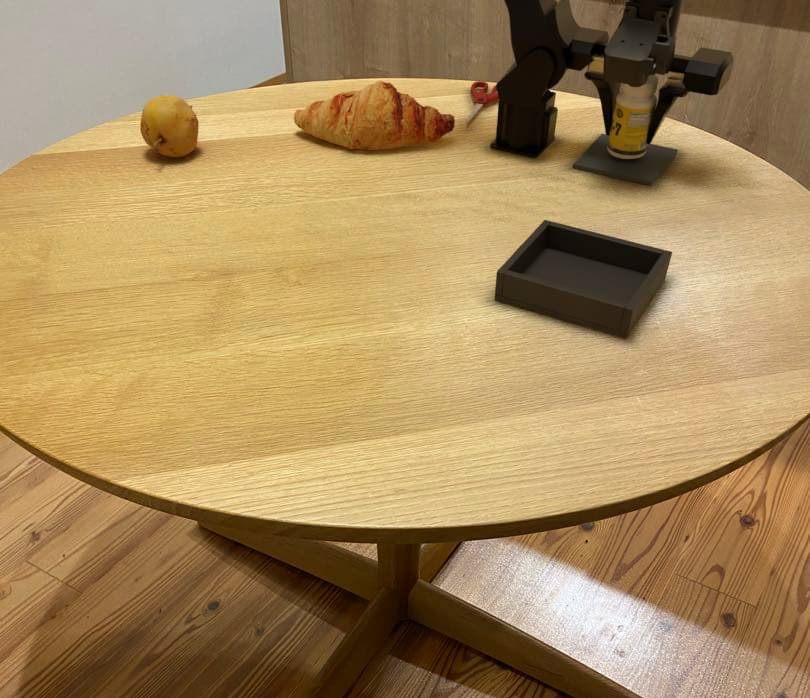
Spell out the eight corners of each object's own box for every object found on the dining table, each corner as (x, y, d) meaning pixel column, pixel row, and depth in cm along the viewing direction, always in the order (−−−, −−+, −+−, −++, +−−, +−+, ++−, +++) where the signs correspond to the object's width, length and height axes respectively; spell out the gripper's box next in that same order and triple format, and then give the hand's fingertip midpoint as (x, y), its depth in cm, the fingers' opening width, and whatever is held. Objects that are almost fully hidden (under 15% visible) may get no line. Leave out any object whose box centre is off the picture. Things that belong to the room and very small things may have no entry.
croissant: (293, 168, 105) (277, 124, 97) (305, 104, 107) (290, 55, 100) (451, 175, 102) (448, 129, 95) (460, 108, 105) (458, 59, 97)
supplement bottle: (603, 143, 99) (616, 69, 92) (641, 143, 99) (656, 68, 92) (610, 160, 96) (624, 85, 89) (649, 160, 96) (666, 84, 89)
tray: (494, 299, 78) (496, 271, 76) (541, 247, 85) (544, 219, 82) (626, 339, 74) (633, 310, 71) (665, 280, 80) (672, 251, 78)
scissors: (511, 91, 113) (511, 83, 112) (486, 130, 104) (486, 121, 103) (474, 86, 114) (474, 79, 113) (446, 125, 105) (446, 117, 105)
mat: (572, 167, 97) (572, 163, 96) (601, 137, 103) (602, 133, 102) (651, 185, 94) (652, 181, 93) (677, 153, 99) (677, 149, 99)
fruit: (176, 125, 93) (213, 91, 99) (121, 103, 93) (161, 71, 99) (176, 179, 98) (211, 144, 104) (124, 159, 98) (163, 125, 104)
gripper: (547, -6, 83) (530, 147, 95) (726, 22, 77) (684, 182, 88) (586, -33, 89) (566, 114, 101) (754, -9, 83) (712, 144, 95)
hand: (628, 138), depth 96 cm, fingers closed on supplement bottle, 5 cm apart
